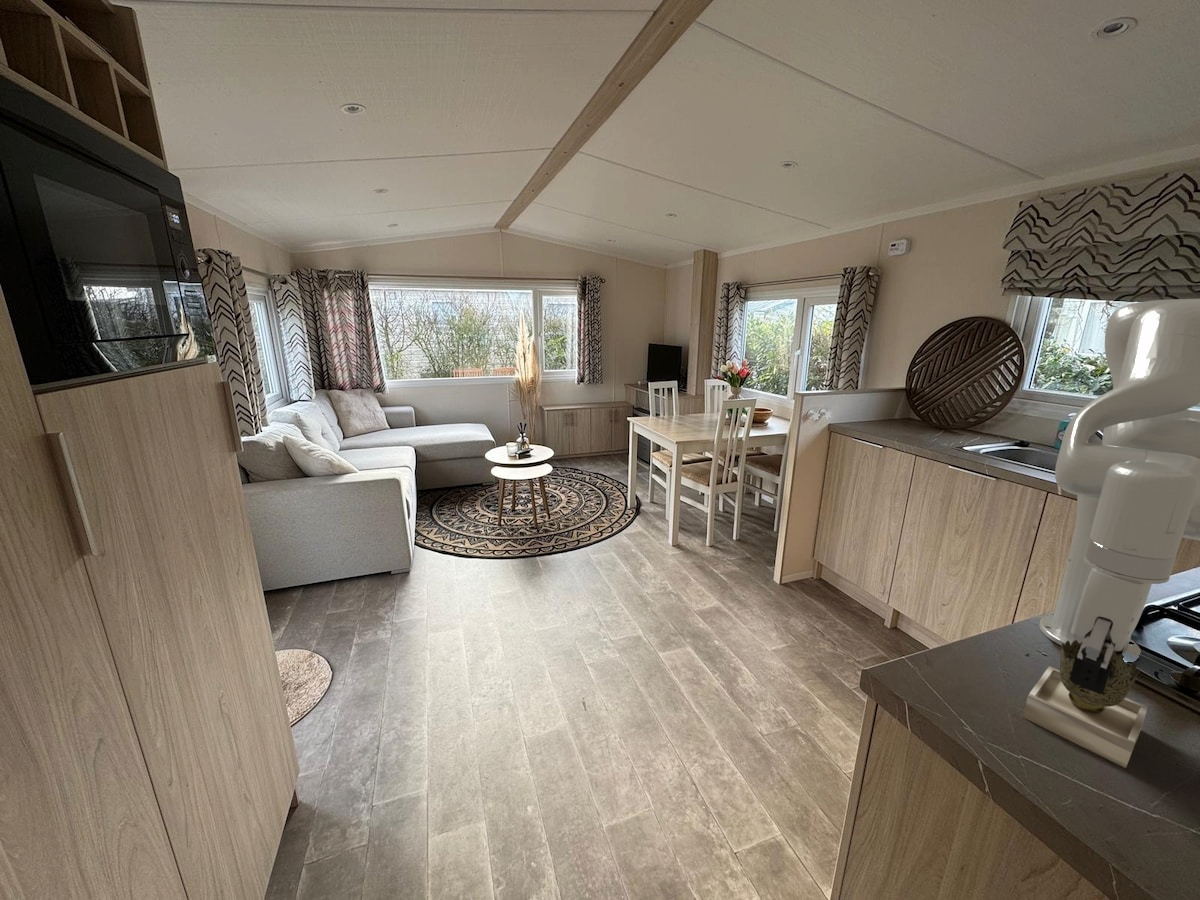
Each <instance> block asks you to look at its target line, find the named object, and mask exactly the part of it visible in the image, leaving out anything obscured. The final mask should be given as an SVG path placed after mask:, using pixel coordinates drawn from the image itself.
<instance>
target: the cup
mask: <svg viewBox="0 0 1200 900" xmlns="http://www.w3.org/2000/svg"><path fill="white" fill-rule="evenodd" d="M1082 642H1083V641H1082ZM1082 642H1081V643H1079V642H1078V641H1077V640H1075V641H1073V642H1072V644H1071V645H1070V641H1066V644H1063V643H1062V644H1061V645H1060V646H1061V649H1060V660H1059V670H1060V677H1061V681H1062V683H1063V685H1064V686H1065V688H1066V689H1067V690H1068V691H1069V694H1068V695H1069V699H1070V701H1071V702H1072V703H1073V704H1074V705H1075V706H1077V707H1078V708H1080V709H1082V710H1084V711H1087V712H1090V713H1102V712H1103V711H1104V710H1105V709H1106V707H1110V706H1115V705H1117V704H1119V703H1120V702H1122V701H1123V700H1124V699H1125V698H1127V695H1128V694H1129V693H1130V691H1131V689H1132V687H1133V685H1134V683H1135V682H1136V679H1137V678H1138V677H1139V675H1140V671H1141V669H1139V668H1138V666H1137V664H1136V663H1131V664H1130V665H1129V663H1125V662H1124V660H1123V658H1124V657H1123V655H1118V656H1117V654H1116V653H1115V651H1113V654H1112V657H1111V659H1110V662H1109V665H1108V666H1109V667H1111V669H1110V673H1109V676H1108V679H1107V683H1106V686H1105V690H1104V692H1103V693H1102V694H1098V693H1096V692H1094V691H1091V690H1089V689H1087V688H1084V687H1082V686H1080V685H1077V684H1075V683H1073V682H1071V681H1070V675H1071V671H1072V668H1073V664H1074V660H1075V657H1076V654H1078V653H1079V650H1080V647H1081V645H1082ZM1106 651H1107V649H1103V650H1101V653H1103V655H1104V656H1105V653H1106ZM1103 659H1104V658H1103Z"/></svg>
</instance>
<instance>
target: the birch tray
mask: <svg viewBox="0 0 1200 900" xmlns="http://www.w3.org/2000/svg"><path fill="white" fill-rule="evenodd" d="M1068 694H1069V691H1068V690H1067V689H1066V688H1065V686H1064V685H1063V683H1062V681H1061V677H1060V669H1057V668H1055V667H1052V666H1050V665H1048V667H1047V668H1046V670H1045V671H1044V672H1043V674H1042V676H1041V677H1040V678H1039V680H1038V681H1037V682H1036V683H1035V685H1034V687H1033V688H1032V689H1031V691H1030V692H1029V694H1028V695H1027V698H1026V702H1025V707H1024V711H1023V715H1022V718H1023V719H1026V720H1028V721H1030V722H1032V723H1034V724H1036V725H1038V726H1040V727H1042V728H1044V729H1046V730H1048V731H1050V732H1053V733H1054V734H1056V735H1058V736H1060V737H1062V738H1064V739H1067V740H1068V741H1070V742H1072V743H1074V744H1075V745H1078V746H1080V747H1082V748H1084V749H1086V750H1088V751H1090V752H1092V753H1094V754H1095V755H1098V756H1100V757H1102V758H1104V759H1107V760H1108V761H1110V762H1113V764H1117V765H1118V766H1120V767H1122V768H1124V769H1127V768H1128V764H1129V761H1130V759H1131V756H1132V754H1133V752H1134V749H1135V746H1136V744H1137V741H1138V738H1139V736H1140V732H1141V731H1142V727H1143V724H1144V721H1145V718H1146V716H1147V711H1148V710H1149V709H1148V708H1149V706H1146V705H1144V704H1142V703H1138V702H1137V701H1135V700H1132V699H1130V698H1128V697H1125V699H1124V700H1123V701H1122V702H1120V703H1119V704H1117V705H1115V706H1110V707H1106V709H1105V710H1104V711H1103V712H1102V713H1090V712H1087V711H1084V710H1082V709H1080V708H1078V707H1077V706H1075V705H1074V704H1073V703H1072V702H1071V701H1070V699H1069V695H1068Z"/></svg>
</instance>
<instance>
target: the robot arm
mask: <svg viewBox="0 0 1200 900" xmlns="http://www.w3.org/2000/svg"><path fill="white" fill-rule="evenodd" d="M1104 334H1105V335H1104V353H1105V359H1106V363H1107V367H1108V369H1109V372H1110V375H1111V378H1112V389H1111V390H1109V391H1107V392H1105V393H1103V394H1101V395H1099V396H1098V397H1096V398H1095V399H1092V400H1091V401H1090V402H1088V403H1087V404H1086V405H1084V406H1083V407H1081V408H1080V410H1079V411H1077V413H1076V414H1075V415H1074V416H1073V417H1072V419H1070V421H1069V423H1068V424H1067V426H1066V429H1065V431H1064V434H1063V437H1062V441H1061V445H1060V448H1059V452H1058V456H1057V459H1056V462H1055V463H1056V464H1055V469H1054V470H1055V471H1054V477H1055V478H1054V479H1055V480H1056V483H1057V486H1058V487H1059V488H1060V489H1062V491H1064V492H1067V493H1069V494H1072V495H1075V496H1077V499H1076V500H1077V501H1076V502H1077V503H1076V504H1077V505H1076V518H1075V526H1074V531H1073V537H1072V541H1071V544H1070V545H1071V546H1070V548H1069V549H1070V550H1069V554H1068V558H1067V561H1066V567H1065V571H1064V574H1063V579H1062V582H1061V586H1060V589H1059V594H1058V597H1057V598H1058V599H1057V602H1056V605H1055V610H1054V614H1047V615H1048V616H1047V615H1044V616H1042V617H1041V619H1040V621H1039V629H1040V631H1041V632H1042V633H1043V634H1044V636H1046V638H1048V639H1049V640H1051V641H1053V642H1054V643H1055V644H1057V645H1059V646H1061V644H1062V643H1063V644H1066V641H1070V645H1071V644H1072V642H1073V641H1075V640H1077V641H1078V642H1079V643H1081V642H1082V641H1083V642H1082V645H1081V647H1080V650H1079V653H1078V654H1076V657H1075V660H1074V664H1073V668H1072V671H1071V675H1070V681H1071V682H1073V683H1075V684H1077V685H1080V686H1082V687H1084V688H1087V689H1089V690H1091V691H1094V692H1096V693H1098V694H1102V693H1103V692H1104V690H1105V686H1106V683H1107V679H1108V676H1109V673H1110V669H1111V667H1109V666H1108V665H1109V662H1110V659H1111V657H1112V654H1113V651H1115V653H1116V654H1117V656H1118V655H1122V654H1124V653H1125V654H1126V651H1127V652H1128V653H1130V654H1132V655H1134V656H1136V657H1137V654H1138V655H1139V654H1140V653H1141V654H1142V652H1141V651H1142V650H1141V648H1140V646H1139V645H1138V644H1137V643H1136V642H1135V641H1134V640H1133V639H1132V638H1131V637H1132V636H1133V635H1132V634H1133V633H1134V631H1135V629H1136V627H1137V625H1138V623H1139V621H1140V618H1141V616H1142V614H1143V611H1144V609H1145V606H1146V602H1147V600H1148V597H1149V594H1150V591H1151V588H1152V585H1159V584H1160V585H1161V584H1165V583H1167V582H1169V580H1170V579H1171V578H1170V577H1171V574H1172V571H1173V568H1174V565H1175V562H1176V558H1177V555H1178V551H1179V549H1180V546H1181V542H1182V539H1188V540H1195V541H1200V411H1197V410H1190V409H1191V408H1193V407H1195V406H1197V405H1199V404H1200V298H1180V299H1174V298H1173V299H1158V300H1157V299H1156V300H1155V299H1154V300H1146V301H1139V302H1134V303H1130V304H1126V305H1124V306H1121V307H1119V308H1118V309H1116V310H1115V311H1114V312H1112V314H1111V315H1110V317H1109V318H1108V321H1107V324H1106V327H1105V333H1104ZM1101 430H1103V433H1102V437H1101V438H1102V443H1091V442H1089V440H1090V437H1091V436H1092V435H1094V434H1095V433H1097V432H1098V431H1099V432H1100V431H1101ZM1129 642H1132V643H1134V644H1129ZM1129 645H1132V646H1129ZM1128 646H1129V647H1128ZM1103 649H1107V651H1106V653H1105V656H1104V655H1103V653H1101V650H1103ZM1135 653H1136V654H1135ZM1123 657H1124V656H1123ZM1130 657H1132V658H1133V656H1131V655H1130ZM1103 658H1104V659H1103Z"/></svg>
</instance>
